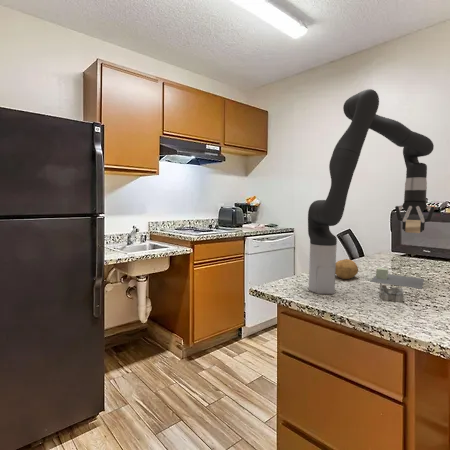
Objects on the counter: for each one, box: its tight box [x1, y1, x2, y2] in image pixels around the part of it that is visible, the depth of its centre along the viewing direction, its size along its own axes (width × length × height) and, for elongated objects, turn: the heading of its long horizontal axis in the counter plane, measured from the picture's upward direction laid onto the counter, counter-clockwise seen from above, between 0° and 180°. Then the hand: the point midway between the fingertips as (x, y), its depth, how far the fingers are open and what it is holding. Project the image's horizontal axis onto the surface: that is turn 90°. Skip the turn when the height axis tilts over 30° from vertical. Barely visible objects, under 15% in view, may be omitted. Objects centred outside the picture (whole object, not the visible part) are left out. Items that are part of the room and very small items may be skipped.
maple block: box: [404, 219, 421, 234], centre depth 124 cm, size 5×5×5 cm
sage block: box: [375, 267, 389, 280], centre depth 132 cm, size 4×4×4 cm
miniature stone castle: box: [378, 283, 404, 303], centre depth 106 cm, size 10×7×4 cm
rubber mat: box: [370, 273, 425, 290], centre depth 129 cm, size 20×18×1 cm
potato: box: [335, 258, 359, 280], centre depth 131 cm, size 10×14×8 cm
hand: (413, 231), depth 125 cm, fingers closed on maple block, 5 cm apart
